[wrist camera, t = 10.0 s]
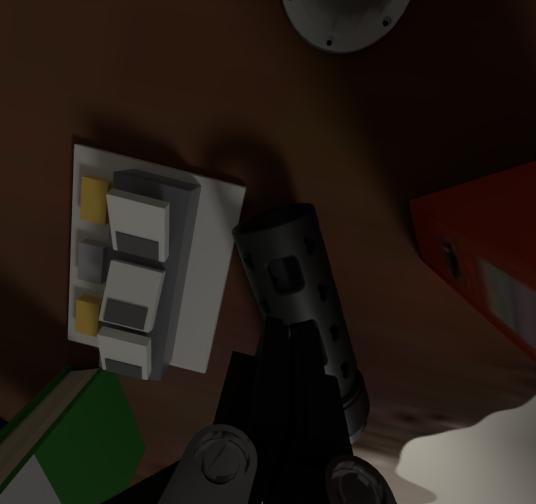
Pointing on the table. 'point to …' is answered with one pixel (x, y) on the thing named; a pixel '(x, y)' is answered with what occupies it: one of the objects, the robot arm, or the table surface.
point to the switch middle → (131, 295)
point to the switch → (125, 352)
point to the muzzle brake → (302, 293)
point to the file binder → (486, 247)
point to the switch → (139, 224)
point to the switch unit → (176, 265)
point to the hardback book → (70, 442)
